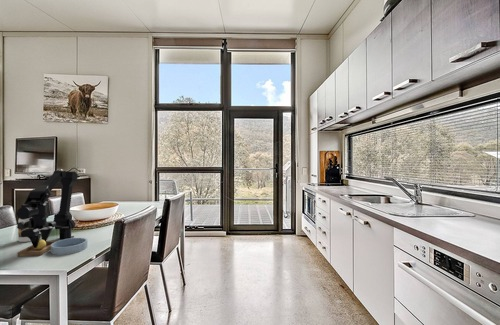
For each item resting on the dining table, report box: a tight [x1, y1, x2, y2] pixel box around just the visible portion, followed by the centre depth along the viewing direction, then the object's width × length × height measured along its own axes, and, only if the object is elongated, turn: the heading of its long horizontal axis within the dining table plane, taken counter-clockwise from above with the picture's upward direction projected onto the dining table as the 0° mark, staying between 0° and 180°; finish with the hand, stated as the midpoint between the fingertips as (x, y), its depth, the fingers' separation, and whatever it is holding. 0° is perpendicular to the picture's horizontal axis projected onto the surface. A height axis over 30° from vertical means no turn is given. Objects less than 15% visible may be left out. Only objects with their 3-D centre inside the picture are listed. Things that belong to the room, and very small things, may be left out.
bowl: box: [50, 237, 88, 256], centre depth 137 cm, size 16×16×4 cm
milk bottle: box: [17, 218, 33, 243], centre depth 152 cm, size 8×8×20 cm
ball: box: [35, 238, 46, 250], centre depth 135 cm, size 5×5×5 cm
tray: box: [16, 240, 58, 258], centre depth 135 cm, size 16×10×2 cm, turn 8°
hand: (39, 245), depth 135 cm, fingers open, 6 cm apart
